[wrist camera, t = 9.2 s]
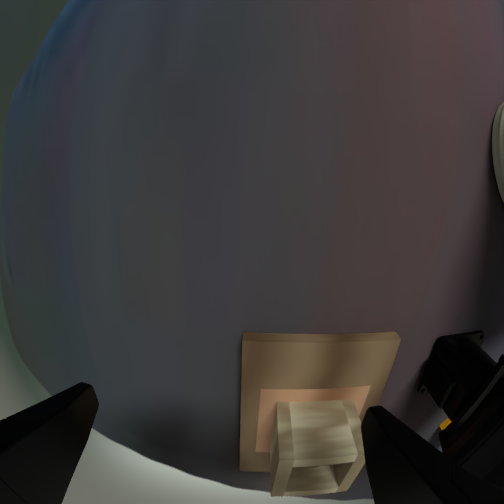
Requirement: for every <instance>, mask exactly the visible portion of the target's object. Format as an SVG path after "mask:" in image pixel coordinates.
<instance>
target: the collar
mask: <svg viewBox="0 0 504 504" xmlns="http://www.w3.org/2000/svg"><path fill="white" fill-rule="evenodd" d="M364 464H365V457H364V449H363V441H362V434H361V421H360V418H359V415H358V412H357V409H356V407H355V404H354V401H353V399H346V400H331V401H307V402H276V409H275V417H274V424H273V430H272V437H271V443H270V467H271V496H302V495H315V494H325V493H334V492H341V491H347V490H348V488H349V487H350V485H351V484H352V482H353V481H354V479H355V478H356V476H357V475H358V473H359V472H360V470H361V469H362V467H363V465H364ZM307 466H317V467H307Z"/></svg>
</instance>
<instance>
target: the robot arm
mask: <svg viewBox="0 0 504 504" xmlns="http://www.w3.org/2000/svg"><path fill="white" fill-rule="evenodd" d="M484 336H485V333H484V332H483V331H475V332H469V333H462V334H455V335H448V336H441V337H440V338H438V340H437V342H436V344H435V347H434V350H433V353H432V355H431V358H430V361H429V363H428V366H427V368H426V371H425V373H424V375H423V378H422V380H421V382H420V385H419V387H418V389H417V391H418V393H419V394H426V393H430V395H431V396H432V398H433V399H434V401H435V402H436V404H437V405H438V407H439V408H443V410H444V411H445V413H446V415H447V416H448V418H449V419H450V421H451V422H450V424H449V425H448V426H447V427H446V428H445V429H443V430H442V431H441V432H440V433H439V438H440V442H441V447H442V451H443V453H442V452H441V451H439V450H438V449H437V448H435V447H434V446H433V445H431V444H430V443H429V442H427V441H426V440H425V439H423V438H422V437H421V436H419V435H418V434H417V433H415V432H414V431H413V430H412V429H410V428H409V427H408V426H406V425H405V424H404V423H402V422H401V421H400V420H399V419H397V418H396V417H395V416H394V415H392V414H391V413H390V412H388V411H387V410H386V409H385V408H383V407H382V406H379V405H378V406H370V407H369V408H368V409H367V411H366V413H365V415H364V418H363V420H362V423H361V434H362V441H363V449H364V457H365V464H366V469H367V474H368V478H369V482H370V486H371V490H372V494H373V498H374V502H375V504H504V355H503V354H502V355H501V357H500V358H499V361H498V363H496V362H495V361H494V360H493V359H492V358H491V357H490V356H489V355H488V354H487V353H486V352H484V351H483V350H482V349H481V348H480V346H481V344H482V341H483V339H484ZM98 406H99V403H98V399H97V397H96V394H95V391H94V389H93V387H92V385H90V384H87V383H83V382H81V383H78V384H76V385H74V386H72V387H70V388H68V389H66V390H64V391H62V392H60V393H58V394H56V395H54V396H52V397H50V398H48V399H46V400H44V401H41V402H39V403H38V404H35V405H33V406H31V407H29V408H27V409H24V410H22V411H20V412H18V413H16V414H14V415H12V416H9V417H7V418H6V419H2V420H0V504H61V503H62V501H63V499H64V496H65V493H66V491H67V488H68V486H69V483H70V481H71V478H72V476H73V473H74V471H75V469H76V466H77V464H78V461H79V459H80V457H81V455H82V452H83V450H84V448H85V445H86V443H87V440H88V438H89V435H90V431H91V428H92V425H93V422H94V419H95V416H96V413H97V410H98Z"/></svg>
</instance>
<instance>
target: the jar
mask: <svg viewBox="0 0 504 504" xmlns="http://www.w3.org/2000/svg"><path fill="white" fill-rule="evenodd" d="M492 155H493V165H494V171H495V177H496V181H497V185H498V189H499V192H500V195H501V198H502V201H503V203H504V101H503V102H502V103H501V105H500V106H499V108H498V110H497V112H496V115H495V118H494V123H493V130H492Z"/></svg>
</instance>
